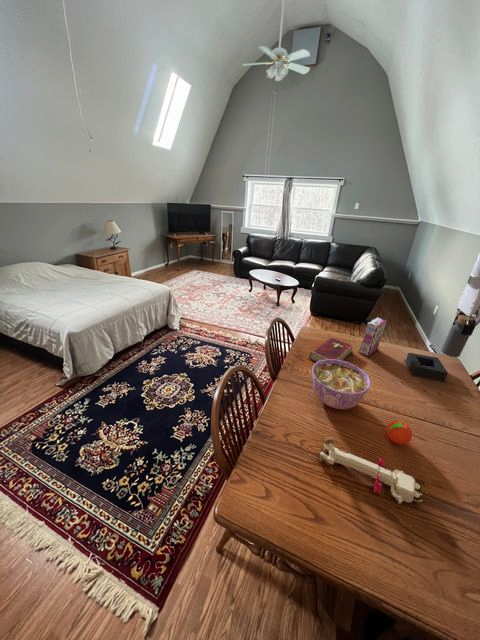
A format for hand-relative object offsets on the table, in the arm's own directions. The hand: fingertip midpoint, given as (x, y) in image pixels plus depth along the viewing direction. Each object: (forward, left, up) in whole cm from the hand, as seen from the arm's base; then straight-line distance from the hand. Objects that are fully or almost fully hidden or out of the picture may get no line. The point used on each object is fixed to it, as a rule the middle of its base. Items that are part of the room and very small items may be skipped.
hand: (461, 330), depth 96 cm
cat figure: (+31, +49, -28) cm, 64 cm away
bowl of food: (+39, +20, -28) cm, 52 cm away
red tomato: (+21, +33, -28) cm, 48 cm away
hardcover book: (+40, -12, -28) cm, 50 cm away
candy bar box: (+22, -23, -28) cm, 42 cm away
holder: (0, -14, -27) cm, 31 cm away
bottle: (0, 0, -10) cm, 10 cm away
